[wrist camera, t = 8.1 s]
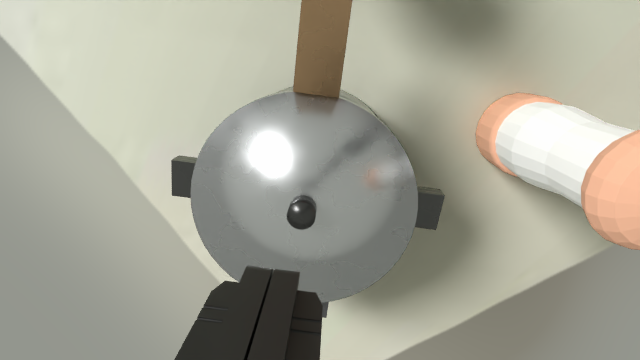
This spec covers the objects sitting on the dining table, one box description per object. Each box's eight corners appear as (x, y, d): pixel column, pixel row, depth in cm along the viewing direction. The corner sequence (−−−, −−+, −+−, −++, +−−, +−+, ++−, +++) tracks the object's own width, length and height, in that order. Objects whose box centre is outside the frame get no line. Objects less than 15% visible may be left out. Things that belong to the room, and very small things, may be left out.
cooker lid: (457, 13, 23) (473, 7, 20) (390, 312, 30) (396, 335, 28) (199, -20, 23) (182, -30, 20) (195, 286, 30) (182, 307, 28)
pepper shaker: (486, 177, 37) (631, 295, 19) (466, 110, 35) (608, 169, 17) (560, 151, 36) (792, 249, 17) (544, 80, 33) (789, 108, 15)
